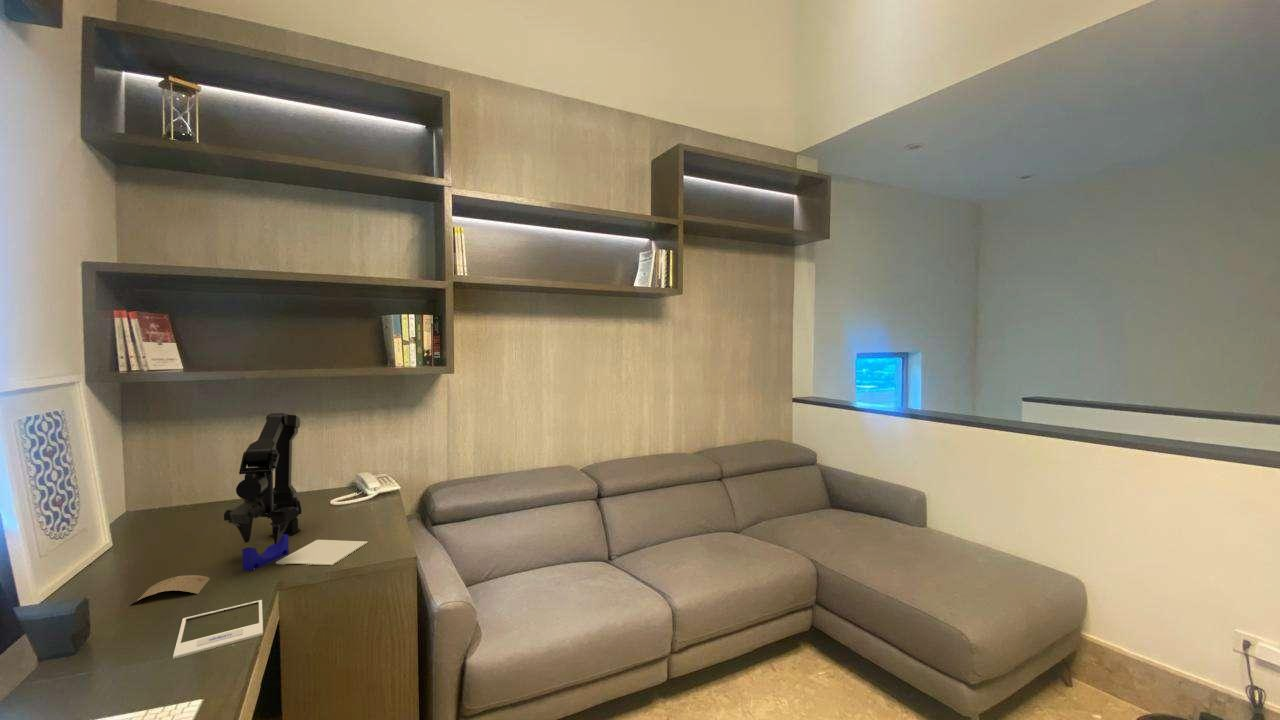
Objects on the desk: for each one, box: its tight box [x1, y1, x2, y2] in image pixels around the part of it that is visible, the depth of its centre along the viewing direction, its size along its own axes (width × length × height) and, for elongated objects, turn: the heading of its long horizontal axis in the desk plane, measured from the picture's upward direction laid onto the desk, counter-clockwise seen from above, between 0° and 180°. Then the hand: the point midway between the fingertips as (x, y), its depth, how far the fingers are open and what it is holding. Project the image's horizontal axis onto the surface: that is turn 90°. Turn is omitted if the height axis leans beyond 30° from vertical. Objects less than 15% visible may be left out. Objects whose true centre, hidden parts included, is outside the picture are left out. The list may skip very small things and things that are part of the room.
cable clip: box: [241, 534, 290, 572], centre depth 150 cm, size 12×4×6 cm, turn 169°
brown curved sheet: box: [133, 574, 211, 604], centre depth 131 cm, size 14×10×3 cm
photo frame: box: [172, 599, 264, 660], centre depth 115 cm, size 15×1×18 cm
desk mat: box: [275, 539, 369, 566], centre depth 156 cm, size 17×17×1 cm
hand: (261, 542), depth 150 cm, fingers open, 9 cm apart
